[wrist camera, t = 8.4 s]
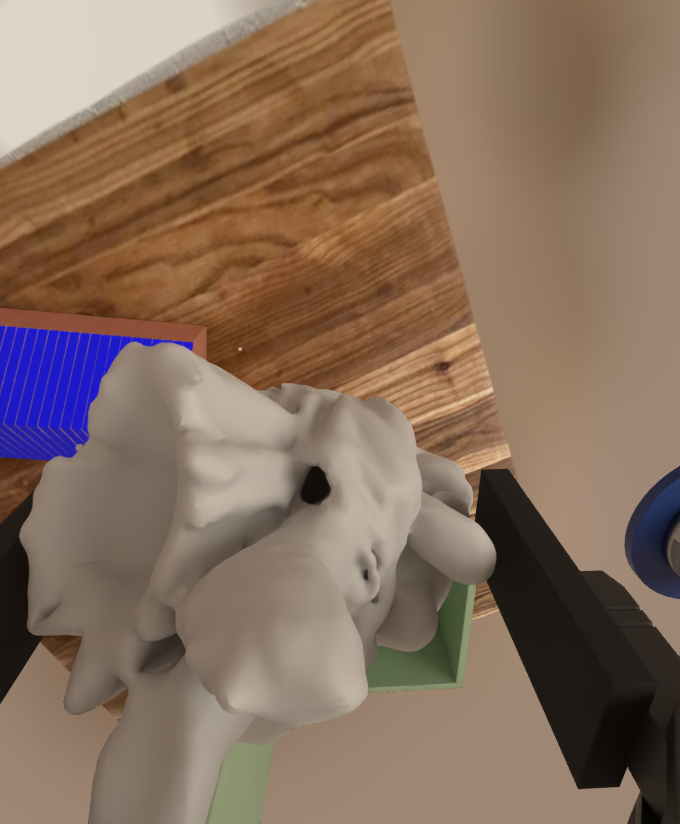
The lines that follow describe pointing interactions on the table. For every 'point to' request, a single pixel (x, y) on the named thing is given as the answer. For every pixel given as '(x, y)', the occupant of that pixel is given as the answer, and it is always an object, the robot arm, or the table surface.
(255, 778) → the lid
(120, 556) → the figurine
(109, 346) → the house
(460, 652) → the chest
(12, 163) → the table surface
